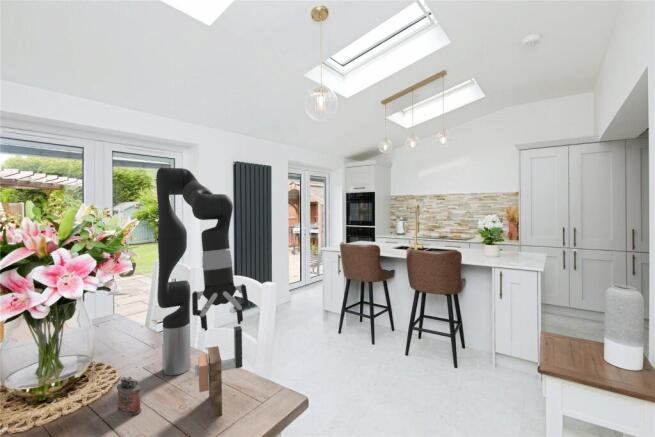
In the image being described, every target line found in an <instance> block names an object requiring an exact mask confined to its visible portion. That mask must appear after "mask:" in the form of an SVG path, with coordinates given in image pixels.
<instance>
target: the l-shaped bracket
mask: <svg viewBox="0 0 655 437" xmlns="http://www.w3.org/2000/svg"><path fill="white" fill-rule="evenodd" d="M233 346H234V347H233V348H234V349H233V350H234V353H233V355H234V356H233V358H229V359H223V360H221V371H222V372H224V371H229V370H234V369H239V368H243V329H242V325H240V326H239V325H237V326H234V327H233ZM194 373H195V377H199V364H198V365H197V364H196V365H195V366H194ZM209 374H210V364H209V362H208V375H209Z"/></svg>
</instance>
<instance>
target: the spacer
mask: <svg viewBox="0 0 655 437" xmlns="http://www.w3.org/2000/svg"><path fill="white" fill-rule="evenodd" d="M197 357H198V360H197V361H198V365H199V376H198V389H199V390H198V391H199V393H204V392H209V374H208V363H209V357H208V353H203V354H198V356H197Z"/></svg>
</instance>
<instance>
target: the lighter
mask: <svg viewBox="0 0 655 437" xmlns="http://www.w3.org/2000/svg"><path fill="white" fill-rule="evenodd" d="M138 384H139V381H138V379H136V378H132V376H127V377H126V376H123V377H121V378H120V383H118V384H117V385H116V390H117V412H118V413H119V414H122V415H125V416H129V417H137V416H139V415H140V414H141V412H142V408H141V389H142V388H141V385H138Z"/></svg>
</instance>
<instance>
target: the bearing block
mask: <svg viewBox="0 0 655 437" xmlns="http://www.w3.org/2000/svg"><path fill="white" fill-rule="evenodd" d="M207 350H208V353H207V357H208V363H209V364H210V374H208V378H209V391H208V400H209V408H210V417H211V419H212V418H216V417H221V416H222V415H223V388H222V386H223V385H222V384H223V383H222V382H223V381H222V380H223V379H222V375H223V374H222V372H223V371H221V361H222V359H221V353H220V347H219V346H211V347H208V349H207Z"/></svg>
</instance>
